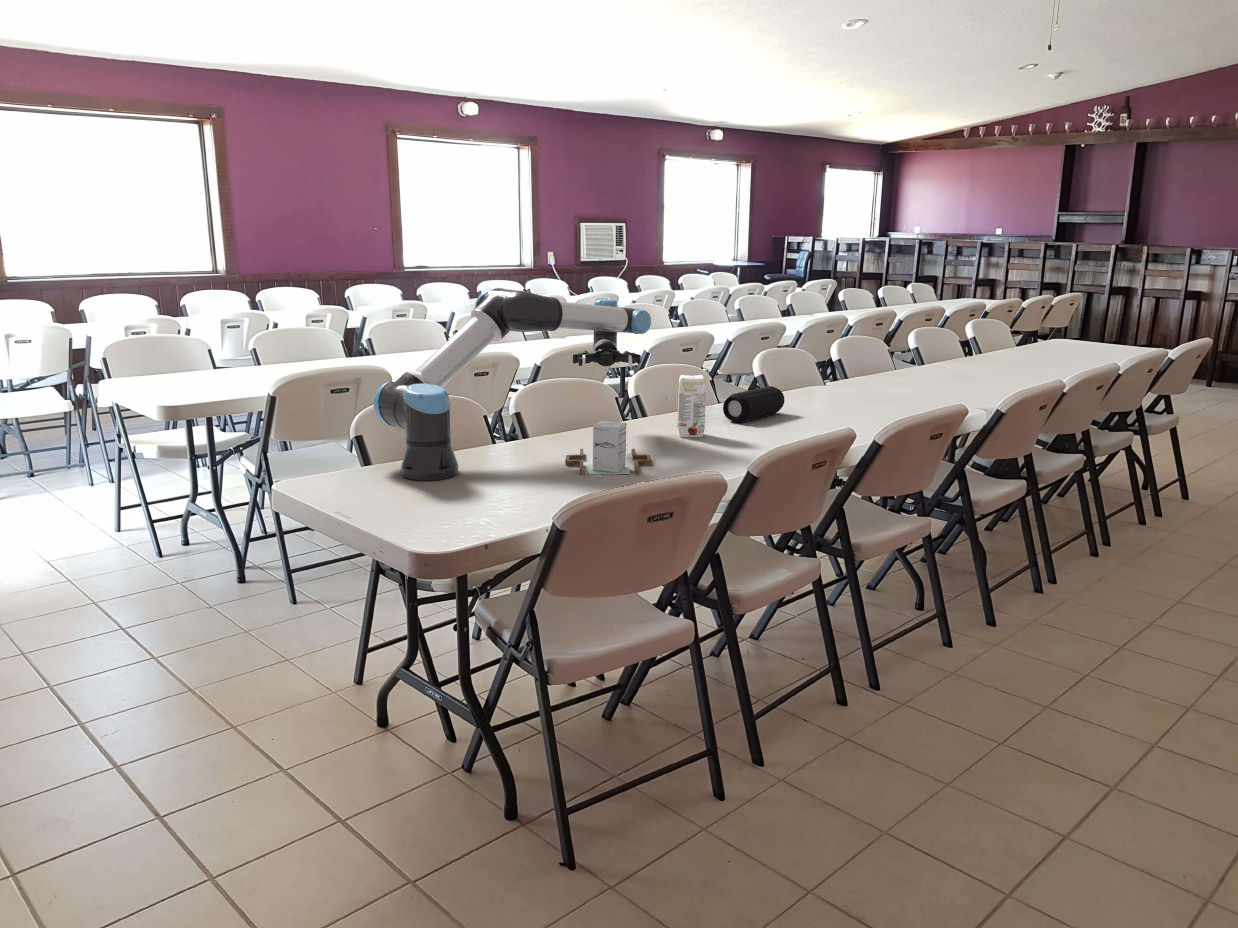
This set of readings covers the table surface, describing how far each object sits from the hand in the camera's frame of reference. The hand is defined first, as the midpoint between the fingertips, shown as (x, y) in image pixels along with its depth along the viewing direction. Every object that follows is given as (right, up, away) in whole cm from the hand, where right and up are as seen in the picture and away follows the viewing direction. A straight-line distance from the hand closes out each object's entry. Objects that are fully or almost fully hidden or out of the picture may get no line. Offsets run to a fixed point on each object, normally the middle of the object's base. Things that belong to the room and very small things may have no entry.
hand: (607, 362), depth 274 cm
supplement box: (+1, -31, -16) cm, 35 cm away
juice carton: (+26, -20, +26) cm, 42 cm away
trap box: (0, -29, -10) cm, 31 cm away
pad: (+1, -31, -16) cm, 35 cm away
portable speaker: (+50, -14, +54) cm, 75 cm away
